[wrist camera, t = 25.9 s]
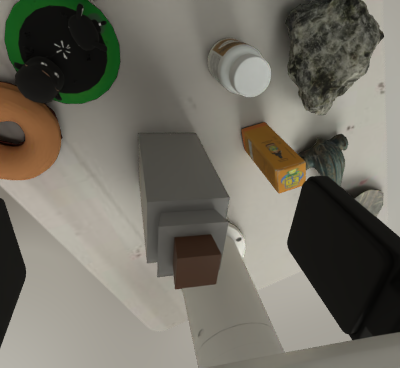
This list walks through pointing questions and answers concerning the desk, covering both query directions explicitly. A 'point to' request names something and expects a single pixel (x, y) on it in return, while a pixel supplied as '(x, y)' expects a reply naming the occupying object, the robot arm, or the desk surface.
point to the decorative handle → (327, 157)
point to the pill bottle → (239, 67)
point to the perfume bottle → (182, 208)
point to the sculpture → (371, 200)
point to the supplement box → (274, 157)
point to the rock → (329, 49)
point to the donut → (27, 135)
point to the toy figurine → (61, 50)
